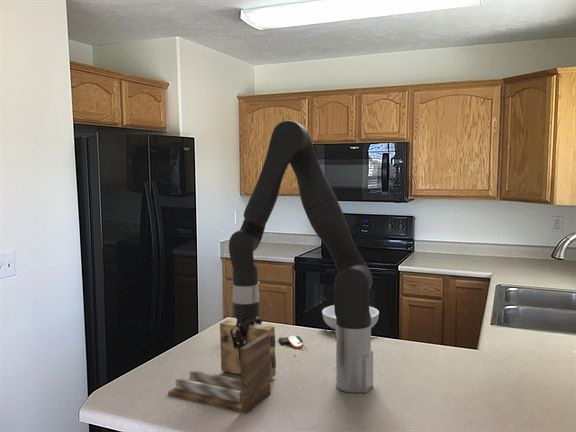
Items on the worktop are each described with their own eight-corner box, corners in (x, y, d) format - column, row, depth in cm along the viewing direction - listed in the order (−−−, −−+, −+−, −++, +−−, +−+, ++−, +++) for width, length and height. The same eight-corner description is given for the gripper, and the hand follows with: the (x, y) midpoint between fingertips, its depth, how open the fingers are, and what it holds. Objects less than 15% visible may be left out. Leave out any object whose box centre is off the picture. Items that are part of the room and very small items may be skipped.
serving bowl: (313, 324, 196) (313, 306, 195) (361, 318, 203) (361, 301, 203) (337, 341, 176) (337, 321, 176) (390, 334, 184) (390, 315, 183)
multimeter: (324, 357, 162) (324, 346, 162) (287, 360, 160) (287, 349, 160) (312, 339, 180) (312, 330, 180) (278, 342, 178) (278, 332, 178)
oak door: (278, 375, 145) (277, 326, 143) (270, 382, 140) (268, 332, 139) (228, 366, 152) (226, 320, 151) (218, 372, 148) (216, 325, 146)
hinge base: (270, 394, 135) (269, 334, 133) (246, 413, 124) (245, 349, 123) (196, 378, 145) (194, 323, 144) (168, 395, 135) (166, 335, 133)
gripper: (244, 306, 137) (245, 369, 139) (269, 295, 150) (270, 352, 151) (220, 304, 140) (222, 365, 142) (247, 293, 153) (248, 349, 155)
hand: (247, 358), depth 147 cm, fingers closed on oak door, 4 cm apart
